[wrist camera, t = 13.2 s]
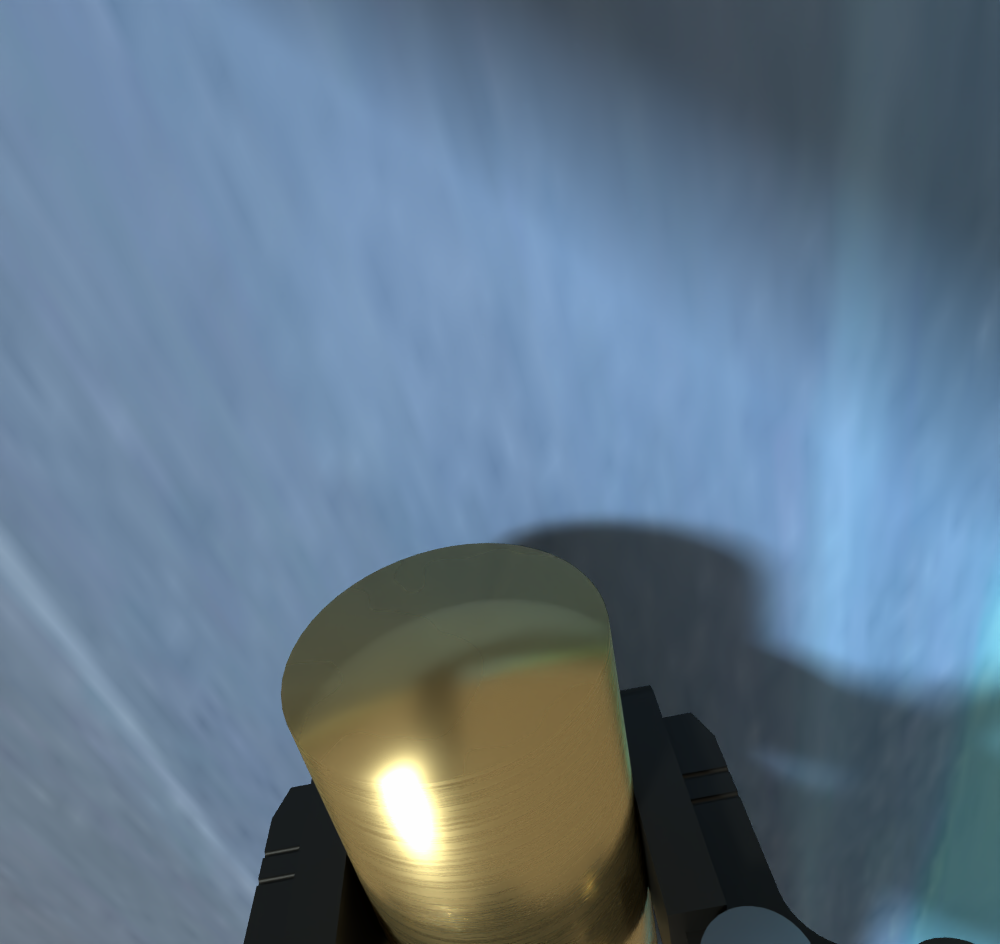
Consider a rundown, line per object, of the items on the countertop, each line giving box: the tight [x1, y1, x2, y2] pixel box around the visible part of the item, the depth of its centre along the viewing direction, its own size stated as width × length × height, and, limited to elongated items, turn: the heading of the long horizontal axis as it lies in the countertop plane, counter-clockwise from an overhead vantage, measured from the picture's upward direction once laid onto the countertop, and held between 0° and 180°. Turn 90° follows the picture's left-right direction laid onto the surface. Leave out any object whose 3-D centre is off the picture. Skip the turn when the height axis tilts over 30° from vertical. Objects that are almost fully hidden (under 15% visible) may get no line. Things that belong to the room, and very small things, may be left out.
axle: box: [281, 543, 658, 944], centre depth 12 cm, size 12×4×4 cm, turn 11°
